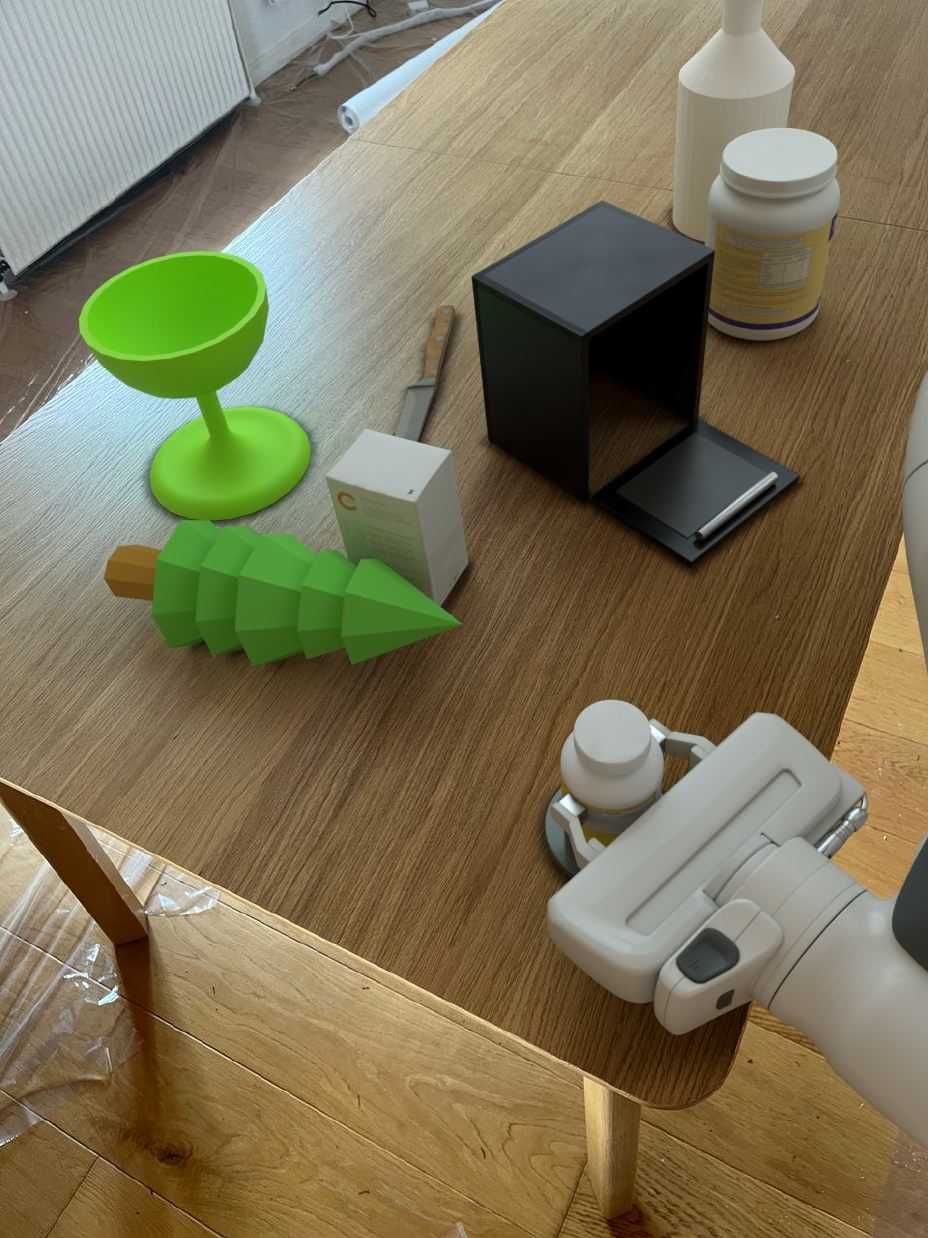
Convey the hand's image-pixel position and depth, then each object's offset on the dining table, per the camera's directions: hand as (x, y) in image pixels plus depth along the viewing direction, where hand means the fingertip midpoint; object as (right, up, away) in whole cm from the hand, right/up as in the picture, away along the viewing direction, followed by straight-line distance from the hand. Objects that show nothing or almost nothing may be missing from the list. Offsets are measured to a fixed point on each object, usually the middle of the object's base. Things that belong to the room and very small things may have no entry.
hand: (601, 766), depth 66 cm
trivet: (+1, -5, +5) cm, 8 cm away
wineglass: (-32, +25, +34) cm, 53 cm away
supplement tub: (+22, +42, +42) cm, 63 cm away
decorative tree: (-23, +7, +19) cm, 31 cm away
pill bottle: (+1, -5, +5) cm, 7 cm away
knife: (-13, +31, +37) cm, 50 cm away
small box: (-13, +13, +23) cm, 29 cm away
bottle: (+21, +57, +54) cm, 81 cm away
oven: (+7, +24, +29) cm, 39 cm away
